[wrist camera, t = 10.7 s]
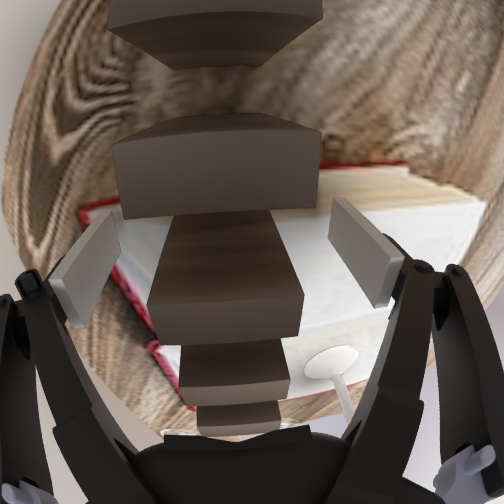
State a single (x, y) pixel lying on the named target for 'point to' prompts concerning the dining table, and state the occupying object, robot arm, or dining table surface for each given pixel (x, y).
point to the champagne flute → (336, 373)
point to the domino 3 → (224, 281)
